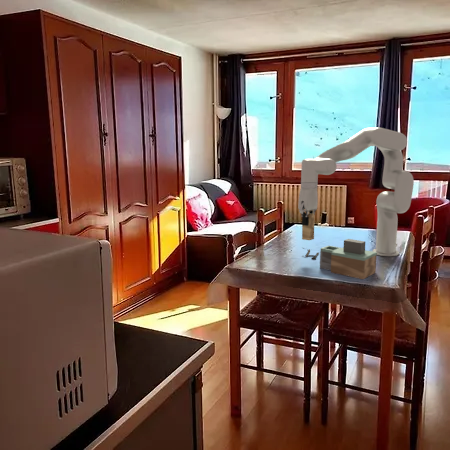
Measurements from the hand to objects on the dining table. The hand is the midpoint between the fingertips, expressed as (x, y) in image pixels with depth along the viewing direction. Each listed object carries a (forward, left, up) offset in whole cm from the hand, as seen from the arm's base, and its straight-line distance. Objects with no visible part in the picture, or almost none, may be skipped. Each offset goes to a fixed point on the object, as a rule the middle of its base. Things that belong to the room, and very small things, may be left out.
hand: (307, 224), depth 203 cm
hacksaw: (-14, -8, -19) cm, 25 cm away
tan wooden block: (0, 0, -7) cm, 7 cm away
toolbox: (+2, +21, -18) cm, 28 cm away
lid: (+2, +21, -10) cm, 24 cm away
